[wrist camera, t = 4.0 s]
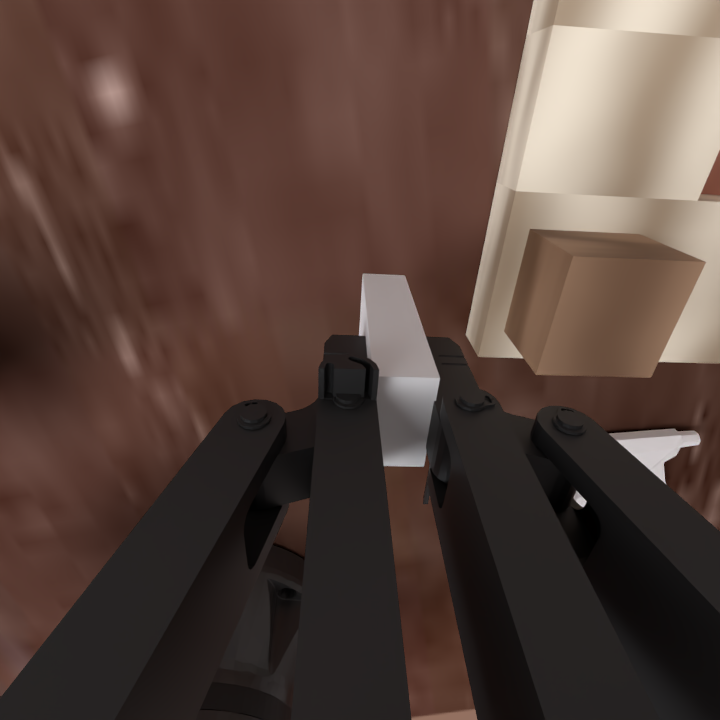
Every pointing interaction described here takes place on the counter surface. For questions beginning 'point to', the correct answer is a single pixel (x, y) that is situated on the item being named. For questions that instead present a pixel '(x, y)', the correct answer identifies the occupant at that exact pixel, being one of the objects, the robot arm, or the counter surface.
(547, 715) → the robot arm
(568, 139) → the trap deck
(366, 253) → the counter surface
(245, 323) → the counter surface
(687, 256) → the walnut block
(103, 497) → the counter surface
